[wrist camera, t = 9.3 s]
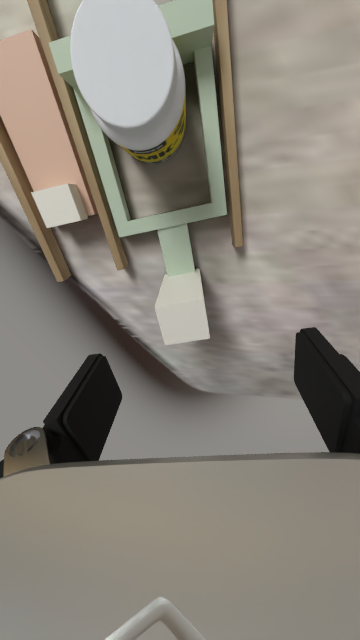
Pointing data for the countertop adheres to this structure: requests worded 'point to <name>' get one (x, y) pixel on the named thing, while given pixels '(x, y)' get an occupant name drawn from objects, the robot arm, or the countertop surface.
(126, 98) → the supplement bottle
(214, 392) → the countertop surface
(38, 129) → the broken strip
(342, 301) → the countertop surface
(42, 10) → the lane rails
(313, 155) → the countertop surface
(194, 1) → the green handled square frame
